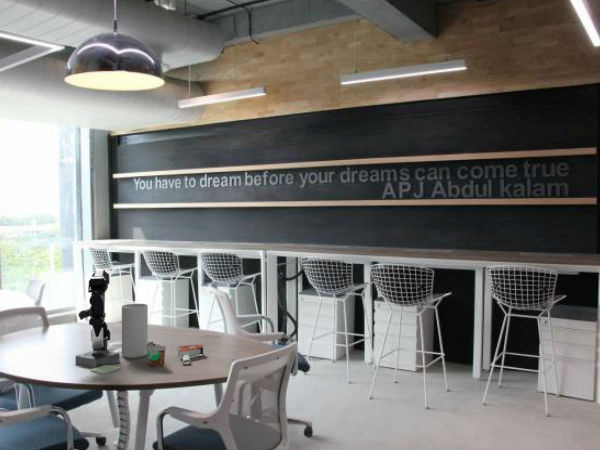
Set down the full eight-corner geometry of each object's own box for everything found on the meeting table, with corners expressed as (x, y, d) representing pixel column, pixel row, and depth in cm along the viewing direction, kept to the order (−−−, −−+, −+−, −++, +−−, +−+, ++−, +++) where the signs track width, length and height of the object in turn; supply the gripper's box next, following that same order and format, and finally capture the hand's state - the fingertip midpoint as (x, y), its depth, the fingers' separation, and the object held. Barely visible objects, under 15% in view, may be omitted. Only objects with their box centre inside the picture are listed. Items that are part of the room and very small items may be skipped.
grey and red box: (185, 369, 265) (214, 357, 282) (185, 358, 264) (214, 347, 281) (159, 361, 275) (189, 350, 291) (159, 351, 274) (189, 340, 291)
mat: (106, 366, 263) (106, 364, 263) (119, 369, 258) (119, 367, 258) (90, 371, 255) (90, 369, 255) (104, 374, 250) (104, 372, 250)
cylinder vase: (117, 354, 284) (117, 305, 283) (141, 350, 292) (141, 302, 291) (127, 359, 274) (127, 308, 274) (151, 355, 282) (151, 306, 282)
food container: (140, 363, 267) (140, 343, 267) (152, 361, 272) (152, 341, 271) (154, 369, 259) (154, 347, 258) (165, 366, 263) (165, 345, 263)
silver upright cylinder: (98, 345, 272) (98, 327, 272) (105, 346, 270) (105, 328, 269) (89, 347, 268) (89, 328, 268) (97, 349, 265) (97, 330, 265)
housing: (99, 357, 279) (99, 349, 278) (119, 361, 272) (119, 352, 272) (75, 363, 266) (75, 355, 266) (96, 368, 260) (96, 359, 259)
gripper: (81, 300, 275) (81, 332, 275) (77, 307, 257) (77, 341, 257) (105, 299, 278) (105, 331, 278) (103, 306, 260) (103, 339, 260)
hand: (97, 335), depth 269 cm, fingers closed on silver upright cylinder, 5 cm apart
